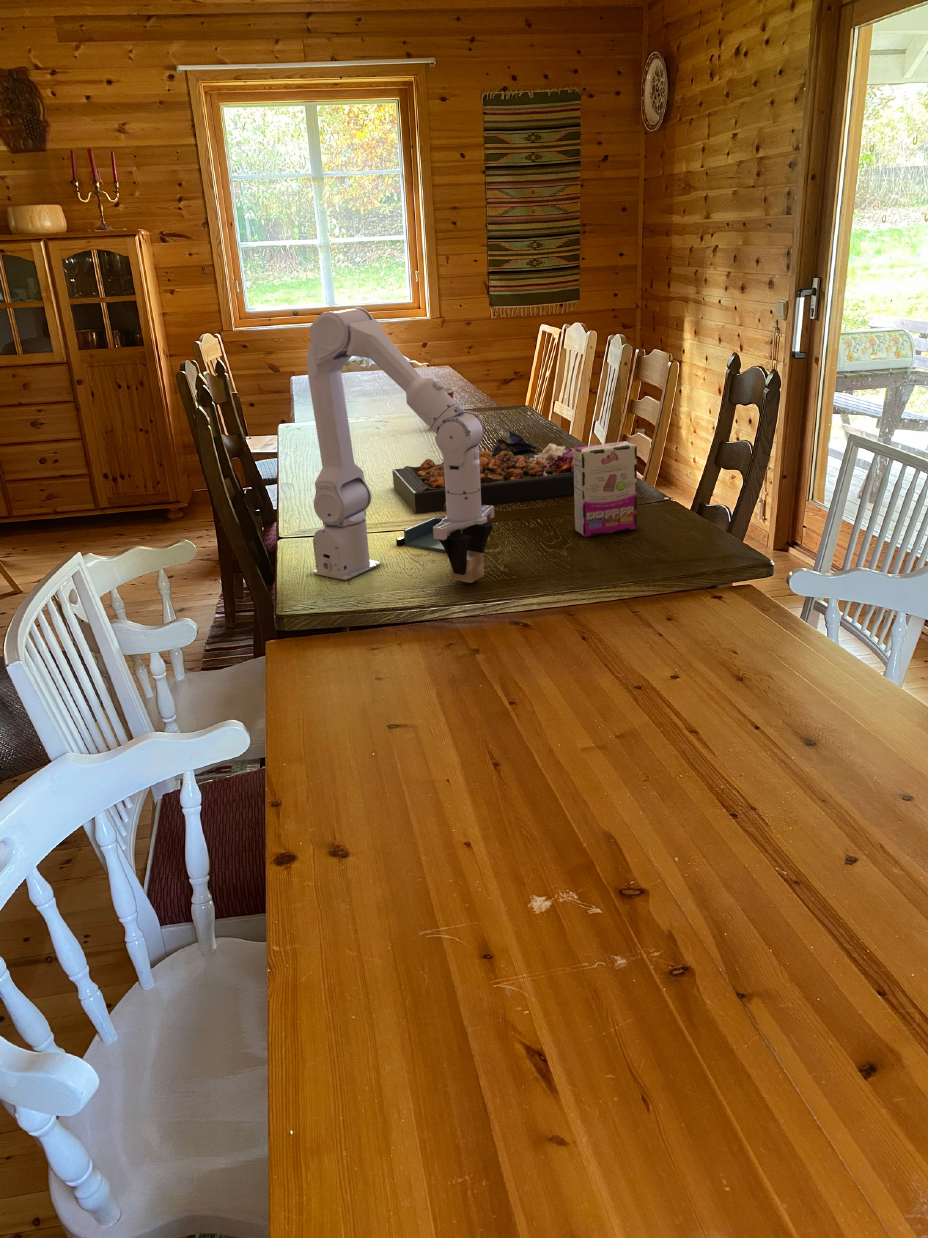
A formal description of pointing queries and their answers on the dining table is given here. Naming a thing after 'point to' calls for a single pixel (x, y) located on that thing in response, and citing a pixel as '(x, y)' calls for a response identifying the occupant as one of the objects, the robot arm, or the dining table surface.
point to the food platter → (492, 479)
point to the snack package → (512, 443)
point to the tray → (424, 535)
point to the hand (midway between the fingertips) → (467, 569)
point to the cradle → (400, 541)
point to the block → (471, 568)
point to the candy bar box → (605, 488)
